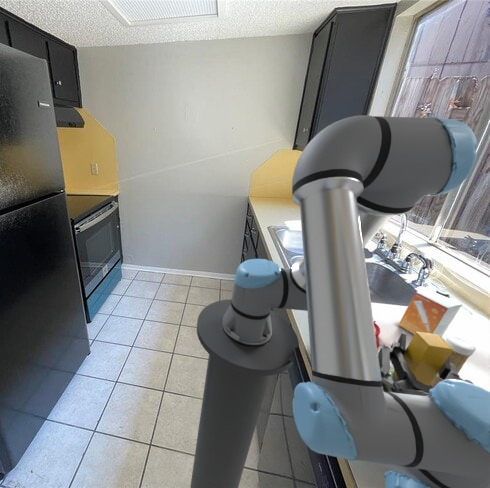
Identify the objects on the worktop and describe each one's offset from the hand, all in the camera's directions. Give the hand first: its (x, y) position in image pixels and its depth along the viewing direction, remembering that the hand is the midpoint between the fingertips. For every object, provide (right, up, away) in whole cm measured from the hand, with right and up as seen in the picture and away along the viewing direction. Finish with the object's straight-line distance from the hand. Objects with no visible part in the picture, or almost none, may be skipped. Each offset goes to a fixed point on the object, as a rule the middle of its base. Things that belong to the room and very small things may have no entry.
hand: (421, 346), depth 57 cm
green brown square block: (-4, -13, +2) cm, 14 cm away
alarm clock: (+1, -5, +20) cm, 21 cm away
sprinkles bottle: (+10, -12, +7) cm, 17 cm away
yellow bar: (-4, -7, -1) cm, 8 cm away
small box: (+22, -5, +23) cm, 32 cm away
